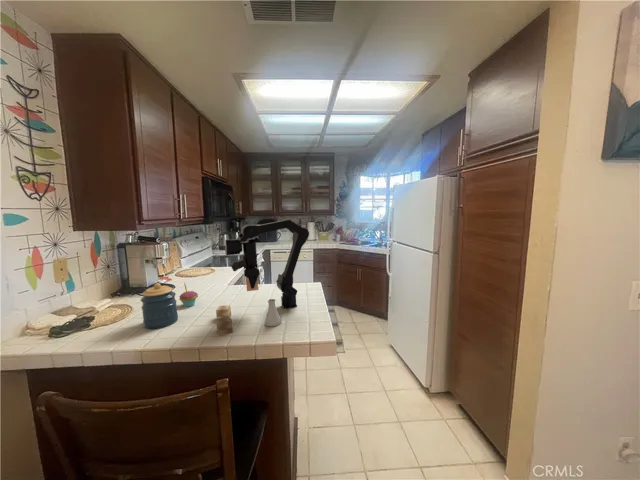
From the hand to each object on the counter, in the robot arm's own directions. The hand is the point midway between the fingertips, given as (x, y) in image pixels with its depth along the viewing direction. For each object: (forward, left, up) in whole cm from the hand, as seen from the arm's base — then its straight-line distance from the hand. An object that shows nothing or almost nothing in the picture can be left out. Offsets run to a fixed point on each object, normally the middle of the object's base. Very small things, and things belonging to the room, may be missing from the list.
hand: (252, 286), depth 121 cm
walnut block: (+12, +15, -13) cm, 23 cm away
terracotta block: (0, 0, -1) cm, 1 cm away
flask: (-7, +14, -13) cm, 20 cm away
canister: (+39, -4, -13) cm, 41 cm away
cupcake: (+31, -23, -13) cm, 41 cm away
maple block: (+13, +1, -13) cm, 18 cm away
